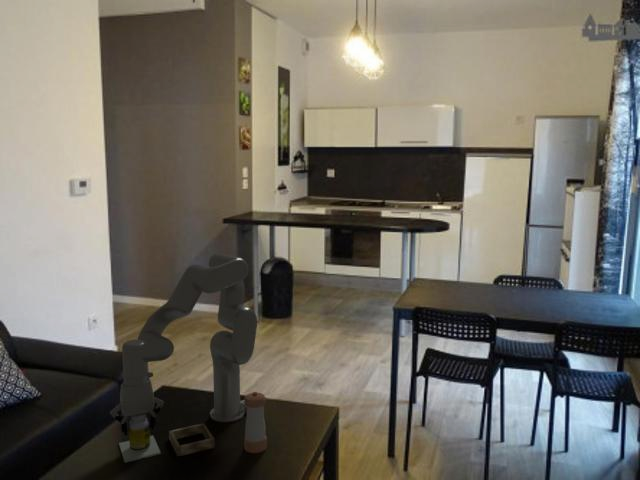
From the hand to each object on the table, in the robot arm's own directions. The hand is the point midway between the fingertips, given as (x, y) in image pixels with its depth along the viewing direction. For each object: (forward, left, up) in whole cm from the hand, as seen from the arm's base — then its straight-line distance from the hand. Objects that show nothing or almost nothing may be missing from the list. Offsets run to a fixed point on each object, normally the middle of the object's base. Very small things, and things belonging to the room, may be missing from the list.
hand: (138, 430), depth 177 cm
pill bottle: (0, 0, -6) cm, 6 cm away
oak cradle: (-16, +4, -7) cm, 18 cm away
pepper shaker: (-34, +16, -7) cm, 38 cm away
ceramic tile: (0, 0, -7) cm, 7 cm away
